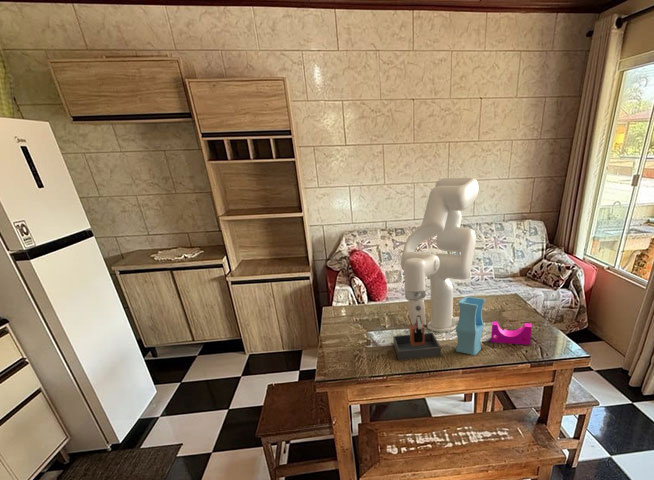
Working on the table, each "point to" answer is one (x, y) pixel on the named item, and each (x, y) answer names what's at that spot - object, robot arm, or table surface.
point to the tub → (416, 347)
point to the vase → (470, 325)
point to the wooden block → (411, 329)
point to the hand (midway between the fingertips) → (417, 338)
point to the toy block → (511, 334)
